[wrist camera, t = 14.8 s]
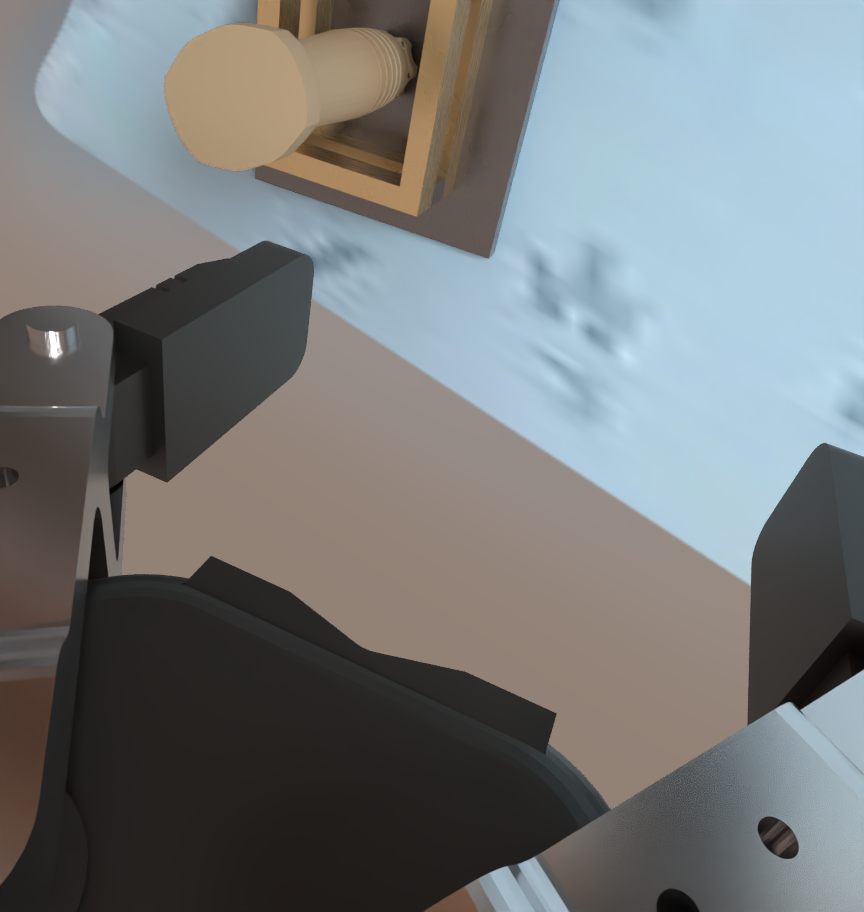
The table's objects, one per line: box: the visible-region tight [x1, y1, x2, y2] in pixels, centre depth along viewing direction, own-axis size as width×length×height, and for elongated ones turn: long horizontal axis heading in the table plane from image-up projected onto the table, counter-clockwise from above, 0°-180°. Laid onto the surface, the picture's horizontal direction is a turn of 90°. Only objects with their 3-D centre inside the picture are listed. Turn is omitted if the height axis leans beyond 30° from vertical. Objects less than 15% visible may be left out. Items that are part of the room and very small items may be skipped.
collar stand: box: [255, 0, 559, 258], centre depth 38 cm, size 17×16×6 cm
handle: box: [164, 23, 418, 171], centre depth 34 cm, size 5×6×15 cm
